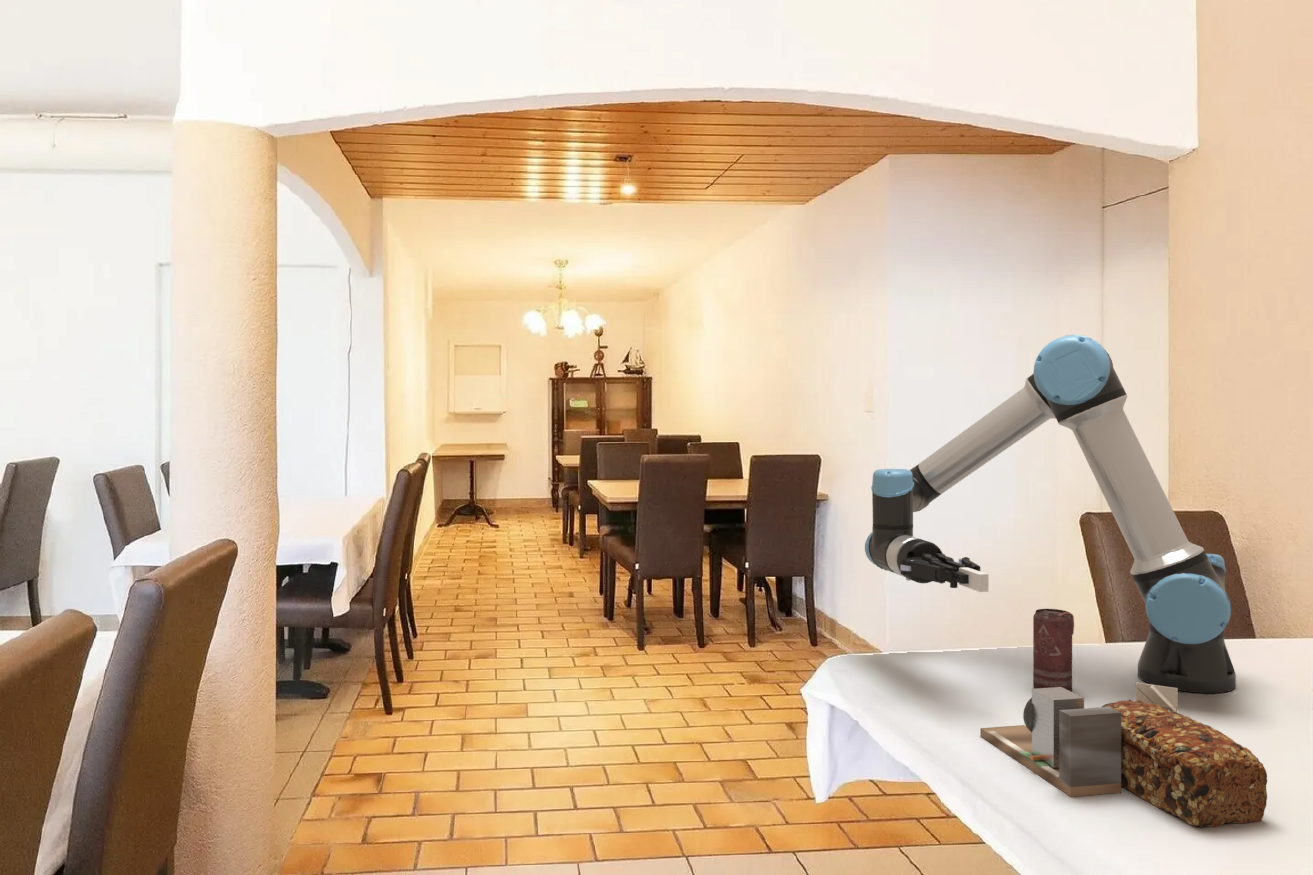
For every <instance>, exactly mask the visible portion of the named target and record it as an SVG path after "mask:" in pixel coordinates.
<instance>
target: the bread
mask: <svg viewBox="0 0 1313 875" xmlns="http://www.w3.org/2000/svg"><path fill="white" fill-rule="evenodd" d="M1101 707H1111V708H1113V709H1115V710H1117V711H1119V712H1121V787H1123V788H1125V790H1128V791H1130V792H1132V793H1133V794H1135V795H1136V796H1137V797H1139V798H1141V799H1143V800H1144V801H1146V802H1147V803H1149V804H1151V805H1152V806H1154V807H1156V808H1158V809H1160V810H1163V811H1166V812H1168V813H1171V814H1172V815H1173V816H1177V817H1179V818H1180V819H1182V820H1183V821H1185V822H1186V823H1187V824H1188V825H1190V826H1195V827H1200V828H1203V827H1206V826H1207V827H1210V828H1218V827H1221V826H1222V825H1224V824H1225V823H1226V824H1227V823H1228V824H1229V823H1232V824H1234V823H1235V824H1247V823H1257V822H1262V819H1263V818H1264V816H1265V811H1266V808H1267V801H1268V792H1267V783H1268V772H1267V770H1266V768H1265V766H1264V763H1262V762H1261V761H1260V759H1259V758H1258V757H1257V756H1256V755H1255V754H1254V753H1253V752H1252V750H1251V749H1249V748H1248V747H1246V746H1243V745H1241V744H1240V743H1237V742H1236V741H1235V740H1233V739H1232V738H1231V737H1230V736H1228V735H1226V734H1225V733H1223V732H1221V731H1220V730H1218V729H1216V728H1214V727H1212V726H1211V725H1208V724H1204V723H1202V722H1200V721H1198V720H1196V719H1193V718H1191V717H1190V716H1187V715H1183V714H1182V713H1180V712H1179V713H1177V712H1170V711H1169V710H1166V709H1163V708H1161V707H1160V706H1159V705H1157V704H1147V703H1143V702H1141V701H1140V700H1138V701H1136V700H1135V701H1134V700H1132V699H1126V700H1117V701H1114V702H1109V703H1105V704H1103V705H1101Z"/></svg>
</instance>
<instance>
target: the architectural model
mask: <svg viewBox="0 0 1313 875" xmlns="http://www.w3.org/2000/svg"><path fill="white" fill-rule="evenodd" d="M1135 684H1136V685H1135V688H1136V689H1135V701H1138V700H1140V701H1141V702H1143V703H1147V704H1157V705H1159V706H1160V707H1161V708H1163V709H1166V710H1169V711H1170V712H1177V713H1179V714H1180V711H1179V710H1178V709H1179V708H1178V703H1179V702H1178V698H1179V697H1178V695H1179V694H1178V691H1179V690H1178V688H1172V687H1165V686H1158V685H1154V684H1151V683H1144V682H1143V683H1142V682H1138V681H1136V683H1135Z"/></svg>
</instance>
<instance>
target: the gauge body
mask: <svg viewBox="0 0 1313 875" xmlns="http://www.w3.org/2000/svg"><path fill="white" fill-rule="evenodd" d="M979 733H980V734H979V735H980V737H982V739H984V740H986V741H987V742H988V743H990V744H992V745H993V746H994V747H996V748H998V749H999V750H1000V751H1002V752H1004V753H1005V754H1007V756H1009V757H1011V758H1012V759H1013V760H1015V761H1017V762H1018V763H1020V764H1021V765H1023V767H1025V768H1027V769H1029V770H1030V771H1032V772H1033V773H1035V774H1036V775H1038V777H1040V778H1042V779H1044V780H1045V781H1046V782H1047V783H1049V784H1051V785H1052V786H1054V787H1055V788H1057V789H1058V790H1060V791H1061V792H1062V793H1064V794H1066V795H1067V796H1069V797H1070V798H1076V797H1084V796H1085V797H1086V796H1095V795H1107V794H1118V793H1122V786H1121V712H1119V711H1117V710H1115V709H1113V708H1111V707H1102V706H1100V707H1084V708H1083V709H1069V710H1059V768H1053V767H1051V766H1050V765H1048V764H1047V763H1045V762H1044V761H1042V760H1032V759H1030V756H1033V754H1032V732H1030V731H1029V730H1028V729H1027V727H1026V725H1025V724H1021V725H1018V724H1017V725H1007V726H1006V725H1005V726H992V727H980V732H979Z"/></svg>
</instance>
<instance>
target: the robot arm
mask: <svg viewBox="0 0 1313 875" xmlns="http://www.w3.org/2000/svg"><path fill="white" fill-rule="evenodd" d="M1127 399H1128V395H1127V393H1126V391H1125V388H1124V386H1123V385H1122V383H1121V381H1120V378H1119V376H1118V374H1117V372H1116V370H1115V368H1114V363H1113V360H1112V358H1111V356H1110V354H1109V353H1108V352H1107V350H1106V349H1105V348H1104V346H1102V345H1101V344H1100V343H1099V342H1098V341H1096V340H1095V339H1093V338H1091V337H1089V336H1086V335H1084V334H1083V335H1081V334H1070V335H1069V334H1068V335H1064V336H1060V337H1058V338H1055V339H1053V340H1051V341H1050V342H1049V343H1047V344H1046V345H1045V346H1044V347H1042V349H1041V350H1040V352H1039V353H1038V355H1037V357H1036V359H1035V361H1034V365H1033V373H1032V374H1031V375H1030V376H1029V377H1027V378H1025V384H1024V387H1022V388H1020V389H1019V390H1018V391H1017V392H1015V393H1014V394H1013V395H1011V396H1010V397H1008V398H1006V400H1005V401H1003V402H1002V403H1001V404H999V405H997V406H996V407H995V408H994V409H992V410H991V411H989V412H988V413H987V414H985V415H984V416H982V417H980V419H978V420H977V421H976V422H974V423H973V424H971V425H970V426H968V427H967V428H966V429H964V430H963V431H962V432H960V433H959V434H957V435H956V436H954V438H952V439H951V440H950V441H948V442H947V443H945V444H943V446H941V447H940V448H938V449H937V450H936V451H934V452H933V453H932V454H930V455H929V456H927V457H925V459H923V460H922V461H921V462H919V463H918V464H917V465H915V466H913V467H912V468H911V469H907V468H906V469H905V468H881V469H880V468H879V469H876V470H874V472H873V473H872V485H871V487H870V488H871V493H872V494H871V496H872V497H871V498H872V505H871V506H872V530H871V531H872V532H871V533H870V534H869V535H868V536H867V538H866V540H865V542H864V552H865V556H866V558H867V559H868V560H869V562H871V563H872V564H873V565H875V566H876V567H877V568H879V569H881V570H884V571H888V572H890V573H893V574H896V575H899V576H901V577H903V578H905V580H906V582H907V581H908V582H909V581H913V582H915V583H919V584H928V583H929V584H930V583H932V582H934V583H938V584H944V583H946V582H947V583H949V588H951V589H957V588H958V584H959V585H960V586H963V587H965V588H968V589H970V590H973V591H976V592H978V593H986V592H989V573H986V572H983V571H981V566H980V565H979V564H977V563H975V562H973V561H972V560H971V559H970V557H967V556H964V557H962V558H958V561H957V560H956V561H955V560H954V558H953V557H951V556H947V555H946V554H945V553H943V551H942V550H941V548H940V547H939V546H938V545H937V544H935V543H933V542H931V541H929V540H925V539H922V538H919V537H916V536H914V513H917V512H920V511H922V510H923V509H925V508H927V507H928V506H929V505H930V503H932V502H933V501H935V500H936V499H937V498H938V497H940V496H941V495H942V494H944V493H945V492H947V491H948V490H949V489H951V488H952V487H954V486H955V485H957V484H958V483H959V482H961V481H963V480H964V479H965V478H967V477H968V476H970V475H971V474H973V473H974V472H975V471H977V470H978V469H979V468H981V467H982V466H984V465H985V464H987V463H988V462H990V461H991V460H993V459H994V458H996V457H997V456H998V455H999V454H1001V453H1003V452H1005V451H1006V450H1007V449H1008V448H1010V447H1012V446H1013V445H1014V444H1016V443H1017V442H1018V441H1020V440H1021V439H1023V438H1024V437H1026V436H1027V435H1028V434H1031V433H1032V432H1033V431H1035V430H1036V429H1037V428H1039V427H1040V426H1041V425H1043V424H1044V423H1046V422H1048V421H1049V420H1050V419H1054V420H1055V419H1056V421H1057V423H1058V425H1060V426H1062V427H1064V428H1068V429H1070V430H1071V431H1072V433H1073V435H1074V437H1075V440H1076V441H1077V443H1078V446H1079V447H1080V450H1081V451H1082V453H1083V456H1084V458H1085V460H1086V462H1087V464H1088V466H1089V468H1090V470H1091V472H1092V475H1093V476H1094V478H1095V481H1096V482H1097V484H1098V485H1097V486H1098V487H1099V489H1100V490H1101V493H1102V495H1103V496H1104V499H1105V502H1106V504H1107V505H1108V507H1109V510H1110V512H1111V514H1112V516H1113V518H1114V520H1115V522H1116V524H1117V526H1118V528H1119V531H1120V532H1121V534H1122V536H1123V538H1124V540H1125V543H1126V545H1127V546H1128V549H1129V551H1130V553H1131V555H1132V556H1133V559H1134V560H1133V563H1132V565H1131V566H1132V567H1131V569H1130V570H1129V572H1130V575H1131V577H1132V579H1133V581H1134V583H1135V585H1136V588H1137V590H1138V592H1139V594H1140V596H1141V598H1142V600H1143V602H1144V605H1145V606H1144V607H1145V608H1144V610H1145V614H1146V616H1147V619H1148V636H1147V637H1146V640H1145V644H1144V647H1143V649H1142V652H1141V654H1140V656H1139V660H1138V662H1137V676H1138V678H1139V679H1141V680H1142V681H1144V682H1146V683H1147V684H1151V685H1158V686H1165V687H1172V688H1178V691H1181V692H1190V693H1200V694H1203V693H1204V694H1207V693H1208V694H1212V693H1213V694H1215V693H1216V694H1218V693H1225V692H1230V691H1233V690H1234V689H1236V686H1237V684H1236V683H1237V682H1236V681H1237V675H1236V671H1235V668H1234V665H1233V663H1232V659H1231V656H1230V653H1229V650H1228V649H1227V645H1226V642H1225V628H1226V627H1227V624H1228V623H1229V622H1230V618H1231V613H1232V604H1231V599H1230V597H1229V596H1228V594H1227V591H1226V585H1225V584H1226V583H1225V581H1226V578H1225V576H1226V575H1225V574H1226V573H1227V568H1226V565H1225V563H1226V562H1225V560H1224V557H1222V556H1221V555H1220V554H1217V553H1216V554H1215V553H1206V551H1205V549H1204V547H1203V546H1200V545H1198V544H1195V543H1193V542H1190V541H1189V539H1188V538H1187V536H1186V534H1185V532H1184V530H1183V528H1182V526H1181V523H1180V522H1179V519H1178V517H1177V516H1176V514H1175V512H1174V509H1173V508H1172V505H1171V504H1170V501H1169V500H1168V498H1167V495H1166V494H1165V491H1164V490H1163V488H1162V485H1161V483H1160V481H1159V479H1158V477H1157V475H1156V473H1155V471H1154V469H1153V467H1152V465H1151V463H1150V461H1149V460H1148V457H1147V455H1146V453H1145V450H1144V449H1143V447H1142V445H1141V443H1140V441H1139V439H1138V437H1137V435H1136V432H1135V430H1134V429H1133V427H1132V425H1131V423H1130V421H1129V419H1128V417H1127V415H1126V413H1125V411H1124V406H1125V404H1126V402H1127Z"/></svg>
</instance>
